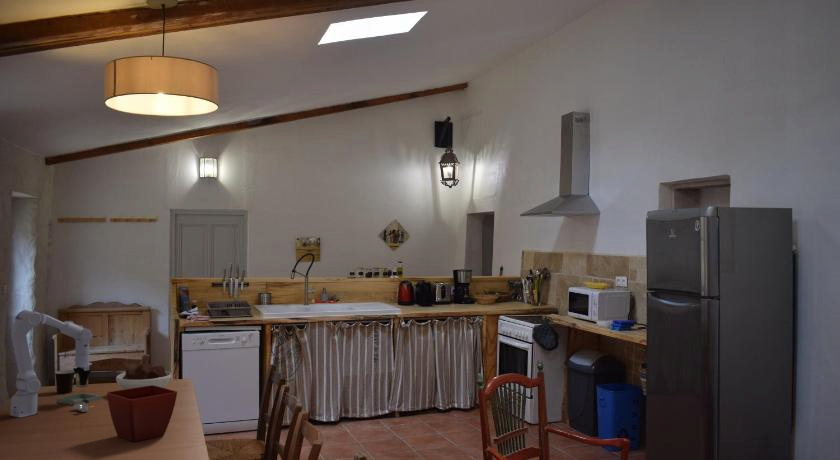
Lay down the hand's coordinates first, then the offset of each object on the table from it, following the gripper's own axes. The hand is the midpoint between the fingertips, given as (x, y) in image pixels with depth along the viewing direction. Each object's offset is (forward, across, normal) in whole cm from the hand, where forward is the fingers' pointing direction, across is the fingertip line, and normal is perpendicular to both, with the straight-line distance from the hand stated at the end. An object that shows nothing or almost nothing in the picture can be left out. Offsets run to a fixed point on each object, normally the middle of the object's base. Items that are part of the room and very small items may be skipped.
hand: (81, 384), depth 303 cm
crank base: (+9, -14, +5) cm, 18 cm away
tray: (+9, +4, 0) cm, 10 cm away
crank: (+8, -18, +5) cm, 20 cm away
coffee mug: (+9, +31, -1) cm, 32 cm away
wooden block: (+1, 0, 0) cm, 1 cm away
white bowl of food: (+9, +1, -28) cm, 30 cm away
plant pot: (+9, -68, -3) cm, 69 cm away
